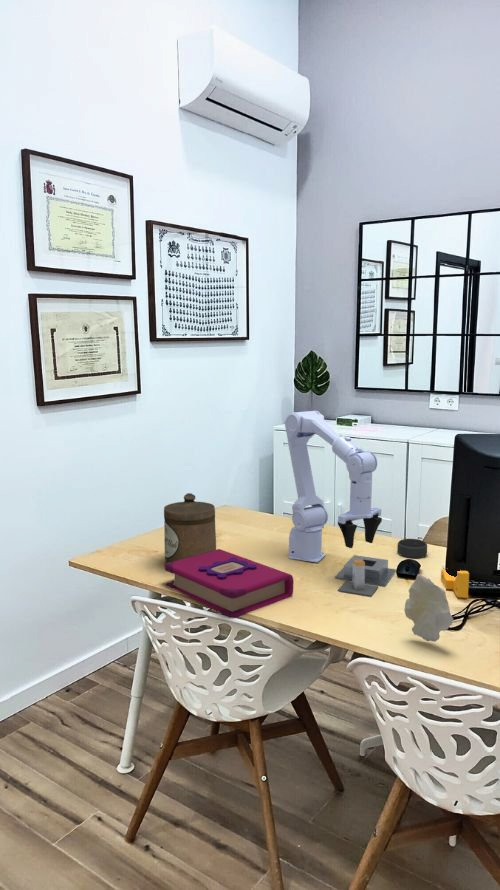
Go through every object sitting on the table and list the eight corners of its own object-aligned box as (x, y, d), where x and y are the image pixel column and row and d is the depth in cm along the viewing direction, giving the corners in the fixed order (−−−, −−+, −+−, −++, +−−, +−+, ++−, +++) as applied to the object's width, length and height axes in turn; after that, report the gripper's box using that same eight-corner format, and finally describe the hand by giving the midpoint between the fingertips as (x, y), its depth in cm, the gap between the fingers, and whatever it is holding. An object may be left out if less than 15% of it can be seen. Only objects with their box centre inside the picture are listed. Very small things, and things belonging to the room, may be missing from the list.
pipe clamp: (440, 580, 179) (441, 557, 178) (456, 580, 178) (458, 558, 177) (450, 597, 167) (451, 573, 166) (467, 597, 166) (469, 573, 165)
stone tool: (454, 644, 140) (458, 578, 138) (448, 650, 137) (451, 583, 135) (407, 630, 147) (410, 567, 144) (400, 636, 144) (403, 571, 142)
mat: (337, 591, 170) (337, 589, 170) (345, 582, 176) (345, 581, 176) (371, 597, 166) (371, 595, 166) (378, 587, 173) (378, 586, 173)
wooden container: (165, 560, 195) (164, 488, 191) (214, 558, 196) (214, 487, 193) (164, 578, 180) (162, 500, 177) (217, 575, 182) (217, 499, 178)
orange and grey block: (352, 586, 172) (352, 559, 171) (361, 586, 173) (362, 559, 172) (354, 590, 170) (355, 562, 169) (364, 589, 170) (364, 562, 169)
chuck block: (334, 578, 179) (335, 566, 179) (348, 564, 191) (348, 552, 190) (385, 586, 173) (385, 573, 173) (396, 571, 185) (396, 559, 184)
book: (223, 570, 187) (222, 545, 186) (293, 598, 167) (294, 570, 165) (163, 589, 173) (162, 561, 172) (232, 622, 153) (232, 591, 151)
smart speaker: (416, 549, 206) (416, 536, 205) (432, 557, 197) (433, 545, 197) (391, 551, 203) (392, 539, 202) (407, 560, 195) (407, 548, 194)
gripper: (351, 503, 168) (350, 553, 170) (390, 495, 177) (388, 543, 179) (333, 497, 174) (331, 546, 176) (371, 490, 182) (369, 537, 184)
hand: (359, 544), depth 178 cm, fingers open, 7 cm apart
